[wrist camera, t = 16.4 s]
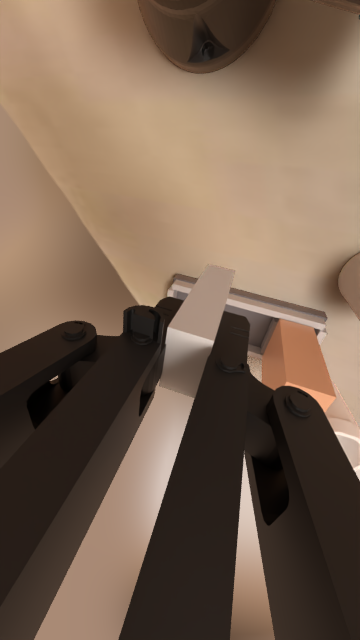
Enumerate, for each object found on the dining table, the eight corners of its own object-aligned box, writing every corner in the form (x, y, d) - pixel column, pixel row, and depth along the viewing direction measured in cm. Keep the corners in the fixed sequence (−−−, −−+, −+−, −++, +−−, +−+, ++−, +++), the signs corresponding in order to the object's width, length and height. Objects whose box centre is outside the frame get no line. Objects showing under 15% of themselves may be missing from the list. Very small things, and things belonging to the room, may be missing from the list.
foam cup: (279, 385, 48) (283, 445, 38) (318, 360, 43) (336, 422, 32) (315, 412, 49) (330, 478, 38) (358, 391, 44) (388, 460, 33)
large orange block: (259, 349, 43) (257, 424, 30) (275, 311, 38) (281, 380, 25) (293, 359, 42) (307, 442, 29) (314, 321, 37) (341, 399, 24)
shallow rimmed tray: (170, 320, 48) (162, 332, 44) (177, 273, 42) (168, 282, 39) (298, 358, 44) (301, 375, 40) (324, 312, 38) (331, 326, 35)
